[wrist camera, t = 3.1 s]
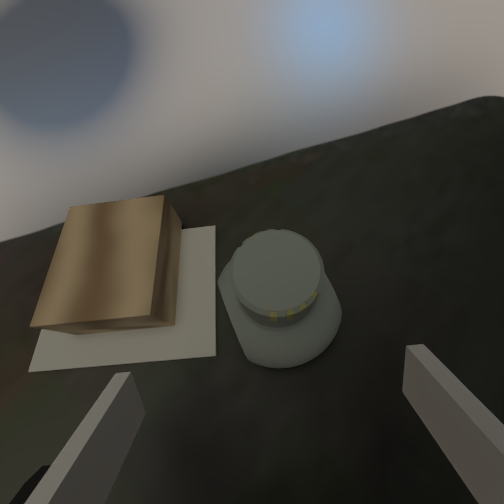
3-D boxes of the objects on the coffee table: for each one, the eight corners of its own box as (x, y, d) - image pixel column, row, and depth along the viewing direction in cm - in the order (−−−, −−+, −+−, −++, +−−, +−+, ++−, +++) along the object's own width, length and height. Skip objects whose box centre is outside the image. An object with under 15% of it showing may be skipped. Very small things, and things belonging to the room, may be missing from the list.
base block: (182, 222, 28) (164, 194, 24) (174, 325, 23) (150, 314, 19) (102, 231, 29) (70, 206, 25) (76, 334, 24) (29, 326, 19)
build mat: (215, 227, 28) (215, 225, 28) (216, 355, 22) (215, 355, 21) (71, 244, 29) (68, 242, 29) (32, 372, 23) (28, 372, 22)
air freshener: (344, 342, 21) (392, 323, 12) (260, 383, 21) (247, 393, 12) (289, 246, 26) (294, 181, 17) (219, 275, 25) (187, 225, 17)
